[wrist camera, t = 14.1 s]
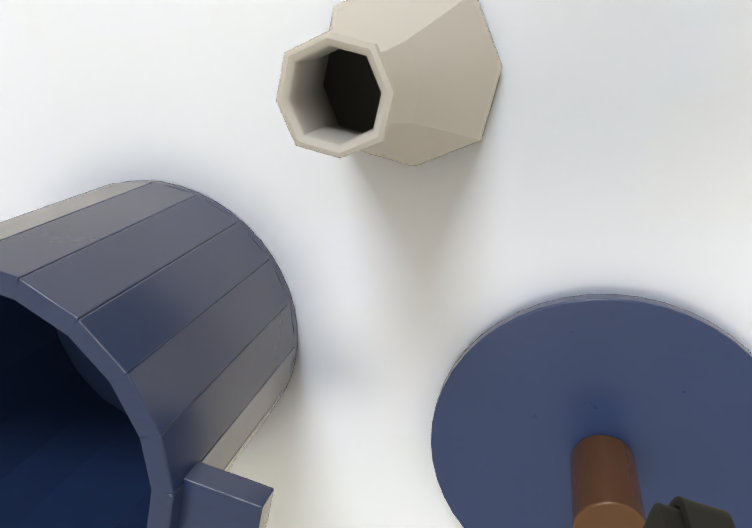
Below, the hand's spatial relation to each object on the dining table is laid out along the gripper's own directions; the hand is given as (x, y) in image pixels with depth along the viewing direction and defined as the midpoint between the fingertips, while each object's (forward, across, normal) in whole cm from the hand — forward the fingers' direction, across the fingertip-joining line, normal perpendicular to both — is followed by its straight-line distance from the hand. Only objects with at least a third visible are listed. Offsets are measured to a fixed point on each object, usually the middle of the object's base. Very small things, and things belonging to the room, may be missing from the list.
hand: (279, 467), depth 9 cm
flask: (+20, +3, -3) cm, 21 cm away
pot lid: (+20, -9, +10) cm, 24 cm away
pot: (+20, +12, +10) cm, 26 cm away
